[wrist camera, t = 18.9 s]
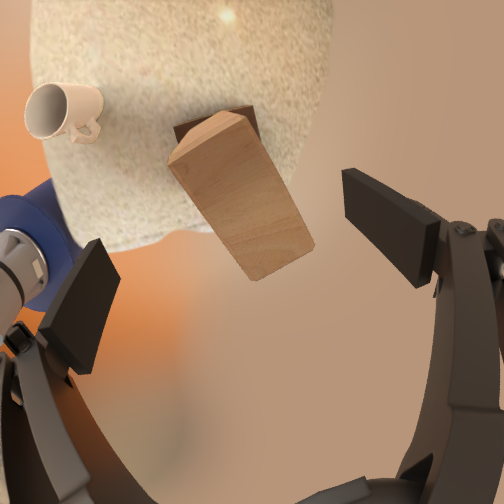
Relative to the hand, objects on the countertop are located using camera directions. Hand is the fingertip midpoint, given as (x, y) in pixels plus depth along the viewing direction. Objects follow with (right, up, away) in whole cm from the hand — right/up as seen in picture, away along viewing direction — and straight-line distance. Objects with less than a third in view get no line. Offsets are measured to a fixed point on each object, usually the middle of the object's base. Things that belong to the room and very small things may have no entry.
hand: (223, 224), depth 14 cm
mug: (-22, +19, +18) cm, 34 cm away
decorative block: (-2, +12, +21) cm, 24 cm away
